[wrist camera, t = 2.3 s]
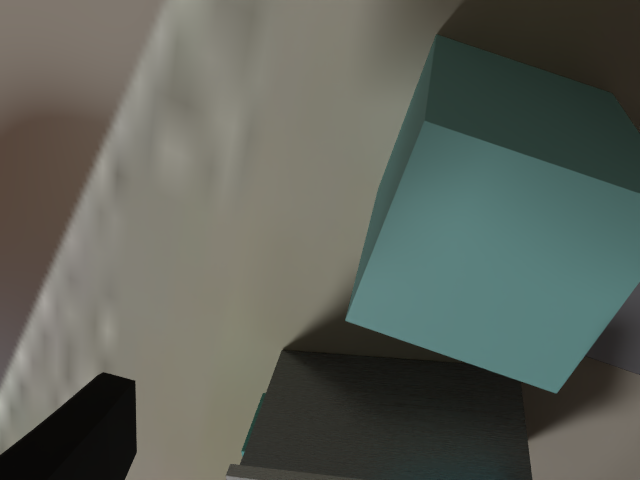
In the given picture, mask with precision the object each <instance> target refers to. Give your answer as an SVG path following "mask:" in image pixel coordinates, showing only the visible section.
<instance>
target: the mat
mask: <svg viewBox="0 0 640 480" xmlns="http://www.w3.org/2000/svg"><path fill="white" fill-rule="evenodd" d="M585 356H586V357H589V358H592V359H595V360H598V361H601V362H604V363H607V364H610V365H613V366H616V367H619V368H621V369H624V370H627V371H630V372H633V373H636V374H639V375H640V282H639V283H638V285H637V286H636V287H635V289H634V290H633V291H632V293H631V294H630V296H629V297H628V298H627V300H626V301H625V302H624V304H623V305H622V306H621V308H620V309H619V310H618V312H617V313H616V314H615V316H614V317H613V318H612V320H611V321H610V322H609V324H608V325H607V326H606V328H605V329H604V331H603V332H602V333H601V335H600V336H599V337H598V339H597V340H596V341H595V343H594V344H593V345H592V347H591V348H590V349H589V351H588V352H587V353H586V355H585Z"/></svg>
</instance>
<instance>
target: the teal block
mask: <svg viewBox="0 0 640 480" xmlns="http://www.w3.org/2000/svg"><path fill="white" fill-rule="evenodd" d="M639 282H640V133H639V132H638V131H637V129H636V128H635V126H634V125H633V123H632V122H631V120H630V119H629V117H628V116H627V114H626V113H625V111H624V110H623V108H622V107H621V105H620V104H619V102H618V101H617V100H616V98H615V97H614V95H613V94H612V93H610V92H607V91H604V90H601V89H598V88H595V87H592V86H589V85H586V84H583V83H580V82H577V81H574V80H571V79H568V78H565V77H562V76H559V75H557V74H554V73H551V72H548V71H545V70H542V69H539V68H536V67H533V66H530V65H527V64H524V63H521V62H518V61H515V60H512V59H509V58H506V57H503V56H500V55H497V54H494V53H491V52H488V51H485V50H482V49H479V48H476V47H473V46H470V45H467V44H464V43H461V42H458V41H455V40H452V39H449V38H446V37H443V36H440V35H437V34H436V36H435V39H434V42H433V44H432V47H431V50H430V52H429V55H428V58H427V60H426V63H425V66H424V68H423V71H422V74H421V76H420V79H419V82H418V84H417V87H416V90H415V92H414V95H413V98H412V100H411V103H410V106H409V108H408V111H407V114H406V116H405V119H404V122H403V124H402V127H401V130H400V132H399V135H398V138H397V140H396V143H395V145H394V148H393V151H392V153H391V156H390V159H389V161H388V164H387V167H386V169H385V172H384V175H383V177H382V180H381V183H380V185H379V188H378V192H377V196H376V200H375V204H374V208H373V212H372V216H371V220H370V224H369V228H368V232H367V236H366V240H365V243H364V247H363V251H362V255H361V259H360V263H359V267H358V271H357V275H356V279H355V283H354V287H353V291H352V295H351V299H350V303H349V307H348V311H347V315H346V319H345V321H347V322H350V323H353V324H356V325H359V326H362V327H365V328H368V329H371V330H373V331H376V332H379V333H382V334H385V335H388V336H391V337H394V338H397V339H400V340H402V341H405V342H408V343H411V344H414V345H417V346H420V347H423V348H426V349H429V350H431V351H434V352H437V353H440V354H443V355H446V356H449V357H452V358H455V359H457V360H460V361H463V362H466V363H469V364H472V365H475V366H478V367H481V368H484V369H486V370H489V371H492V372H495V373H498V374H501V375H504V376H507V377H510V378H513V379H515V380H518V381H521V382H524V383H527V384H530V385H533V386H536V387H539V388H541V389H544V390H547V391H550V392H553V393H556V394H557V392H558V391H559V390H560V388H561V387H562V386H563V384H564V383H565V382H566V380H567V379H568V378H569V376H570V375H571V374H572V372H573V371H574V370H575V368H576V367H577V366H578V364H579V363H580V361H581V360H582V359H583V357H584V356H585V355H586V353H587V352H588V351H589V349H590V348H591V347H592V345H593V344H594V343H595V341H596V340H597V339H598V337H599V336H600V335H601V333H602V332H603V331H604V329H605V328H606V326H607V325H608V324H609V322H610V321H611V320H612V318H613V317H614V316H615V314H616V313H617V312H618V310H619V309H620V308H621V306H622V305H623V304H624V302H625V301H626V300H627V298H628V297H629V296H630V294H631V293H632V291H633V290H634V289H635V287H636V286H637V285H638V283H639Z"/></svg>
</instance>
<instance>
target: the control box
mask: <svg viewBox="0 0 640 480" xmlns="http://www.w3.org/2000/svg"><path fill="white" fill-rule="evenodd" d="M241 452H242V456H243V457H242V460H241V463H240V465H236V464H230V466H229V469H228V471H227V474H226V479H227V480H532V473H531V464H530V456H529V448H528V439H527V431H526V423H525V415H524V406H523V398H522V390H521V381H518V380H515V379H513V378H510V377H507V376H504V375H501V374H498V373H495V372H492V371H489V370H486V369H484V368H481V367H478V366H475V365H472V364H459V363H445V362H432V361H418V360H405V359H392V358H378V357H365V356H351V355H338V354H324V353H311V352H297V351H284V350H282V351H281V354H280V356H279V359H278V362H277V365H276V367H275V370H274V373H273V375H272V378H271V381H270V384H269V386H268V389H267V392H266V393H263V394H262V397H261V400H260V403H259V405H258V408H257V411H256V413H255V416H254V419H253V421H252V424H251V427H250V429H249V432H248V435H247V437H246V440H245V443H244V446H243V448H242V451H241Z"/></svg>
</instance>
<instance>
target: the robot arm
mask: <svg viewBox="0 0 640 480" xmlns="http://www.w3.org/2000/svg"><path fill="white" fill-rule="evenodd" d="M136 453H137V441H136V392H135V381H134V380H130V379H127V378H123V377H119V376H115V375H112V374H108V373H104V372H103V373H101V374H99V375H97V376H96V377H95V378H94V379H93V380H92V381H90V382H89V383H88V384H87V385H86V386H85V387H83V388H82V389H81V390H80V391H79V392H78V393H76V394H75V395H74V396H73V397H72V398H71V399H69V400H68V401H67V402H66V403H65V404H63V405H62V406H61V407H60V408H59V409H57V410H56V411H55V412H54V413H53V414H51V415H50V416H49V417H48V418H47V419H45V420H44V421H43V422H42V423H40V424H39V425H38V426H37V427H35V428H34V429H33V430H32V431H31V432H29V433H28V434H27V435H25V436H24V437H23V438H22V439H20V440H19V441H18V442H16V443H15V444H14V445H13V446H11V447H10V448H9V449H7V450H6V451H5V452H4V453H2V454H1V455H0V480H125V478H126V476H127V473H128V471H129V469H130V466H131V464H132V462H133V460H134V457H135V455H136Z"/></svg>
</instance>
